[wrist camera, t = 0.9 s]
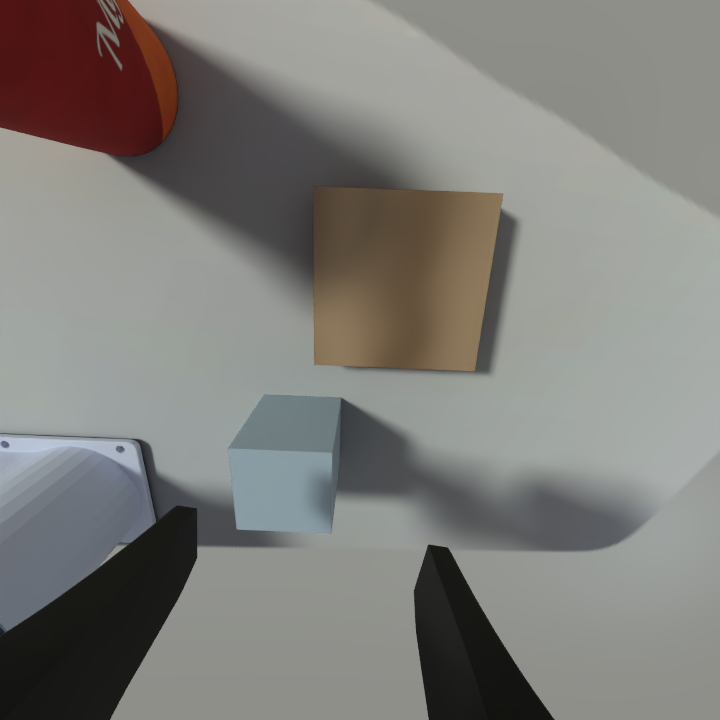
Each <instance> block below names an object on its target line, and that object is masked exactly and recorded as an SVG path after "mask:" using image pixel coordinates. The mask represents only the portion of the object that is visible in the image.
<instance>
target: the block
mask: <svg viewBox="0 0 720 720" xmlns="http://www.w3.org/2000/svg"><path fill="white" fill-rule="evenodd" d="M340 430H341V398H337V397H313V396H289V395H265V394H264V396H263V397H262V399H261V400H260V402H259V403H258V405H257V406H256V408H255V409H254V411H253V412H252V413H251V415H250V416H249V418H248V419H247V421H246V422H245V424H244V425H243V427H242V428H241V430H240V431H239V433H238V434H237V436H236V437H235V439H234V440H233V442H232V443H231V445H230V446H229V448H228V454H229V463H230V472H231V481H232V491H233V500H234V509H235V519H236V528H237V530H260V531H282V532H305V533H328V534H331V531H332V523H333V515H334V507H335V498H336V490H337V482H338V473H339V465H340Z"/></svg>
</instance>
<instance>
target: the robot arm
mask: <svg viewBox="0 0 720 720" xmlns="http://www.w3.org/2000/svg"><path fill="white" fill-rule="evenodd" d="M121 446H122V447H123V448H124V449H123V448H122V447H121ZM119 542H122V543H130V544H129V545H127V546H126V547H125V548H123V549H122V550H121V551H120V552H118V553H117V554H116V555H114V556H113V557H112V558H111V559H109V560H108V561H107V562H105V563H104V564H103V565H102V566H100V565H101V564H102V562H103V561H104V560H105V559H106V558H107V556H108V555H109V554H110V553H111V552H112V550H113V549H114V548H115V547H116V545H117V544H118V543H119ZM196 559H197V509H196V508H190V507H183V506H176V507H174V508H173V509H172V510H170V511H169V512H168V513H167V514H165V515H164V516H163V517H162V518H161V519H159V520H158V521H157V522H156V519H155V514H154V509H153V504H152V499H151V495H150V490H149V485H148V480H147V476H146V471H145V466H144V461H143V457H142V452H141V447H140V445H139V443H138V442H136V441H135V440H131V439H107V438H83V437H59V436H35V435H11V434H0V720H110V719H111V716H112V714H113V713H114V711H115V709H116V707H117V705H118V703H119V701H120V700H121V698H122V696H123V694H124V692H125V690H126V688H127V687H128V685H129V683H130V681H131V679H132V678H133V676H134V675H135V673H136V671H137V669H138V668H139V666H140V664H141V662H142V661H143V659H144V657H145V656H146V654H147V652H148V650H149V648H150V647H151V645H152V643H153V642H154V640H155V638H156V637H157V635H158V633H159V631H160V630H161V628H162V626H163V624H164V623H165V621H166V619H167V617H168V615H169V614H170V612H171V610H172V609H173V607H174V605H175V603H176V602H177V600H178V598H179V596H180V594H181V592H182V590H183V588H184V586H185V583H186V581H187V579H188V577H189V575H190V573H191V570H192V568H193V566H194V564H195V561H196ZM99 566H100V567H99ZM98 567H99V568H98ZM414 602H415V623H416V634H417V642H418V649H419V656H420V662H421V670H422V676H423V683H424V689H425V697H426V704H427V710H428V717H429V720H554V718H553V717H552V716H551V714H550V713H549V711H548V710H547V709H546V707H545V706H544V704H543V703H542V702H541V700H540V699H539V698H538V696H537V695H536V694H535V692H534V691H533V689H532V688H531V686H530V685H529V683H528V682H527V680H526V679H525V677H524V676H523V674H522V673H521V671H520V670H519V668H518V667H517V665H516V664H515V662H514V661H513V659H512V657H511V656H510V654H509V653H508V651H507V650H506V648H505V647H504V645H503V643H502V642H501V640H500V639H499V637H498V635H497V634H496V632H495V630H494V629H493V627H492V625H491V624H490V622H489V620H488V619H487V617H486V615H485V614H484V612H483V610H482V608H481V607H480V605H479V603H478V602H477V600H476V598H475V596H474V595H473V593H472V591H471V589H470V587H469V585H468V584H467V582H466V580H465V578H464V576H463V574H462V573H461V571H460V569H459V567H458V565H457V563H456V561H455V559H454V557H453V556H452V554H451V552H450V550H449V549H448V548H447V547H441V546H434V545H428V547H427V550H426V554H425V557H424V560H423V563H422V567H421V570H420V573H419V577H418V579H417V583H416V586H415V589H414Z"/></svg>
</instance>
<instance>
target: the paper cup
mask: <svg viewBox="0 0 720 720" xmlns="http://www.w3.org/2000/svg"><path fill="white" fill-rule="evenodd" d="M177 108H178V88H177V81H176V76H175V72H174V69H173V66H172V63H171V61H170V58H169V56H168V54H167V52H166V50H165V48H164V47H163V45H162V43H161V42H160V40H159V39H158V37H157V36H156V34H155V33H154V32H153V31H152V29H151V28H150V27H149V25H148V24H147V23H146V22H145V20H144V19H143V18H142V17H141V15H140V14H139V13H138V12H137V11H136V9H135V8H134V7H133V6H132V5H131V3H130V2H129V1H128V0H0V127H1V128H5V129H9V130H13V131H17V132H21V133H25V134H29V135H33V136H37V137H41V138H45V139H49V140H53V141H57V142H61V143H65V144H69V145H73V146H77V147H81V148H85V149H90V150H94V151H98V152H103V153H108V154H113V155H119V156H137V155H142V154H145V153H148V152H150V151H152V150H153V149H155V148H156V147H158V146H159V145H160V144H161V143H162V142H163V141H164V140H165V138H166V137H167V136H168V134H169V133H170V131H171V129H172V127H173V124H174V121H175V118H176V114H177Z"/></svg>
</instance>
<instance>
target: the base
mask: <svg viewBox="0 0 720 720" xmlns="http://www.w3.org/2000/svg"><path fill="white" fill-rule="evenodd" d="M502 198H503V194H502V193H476V192H451V191H425V190H399V189H374V188H348V187H322V186H313V267H314V365H334V366H359V367H383V368H407V369H432V370H456V371H475V365H476V359H477V353H478V347H479V341H480V334H481V328H482V322H483V316H484V310H485V304H486V297H487V291H488V285H489V279H490V273H491V266H492V260H493V254H494V248H495V242H496V235H497V229H498V223H499V217H500V211H501V205H502Z"/></svg>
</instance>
